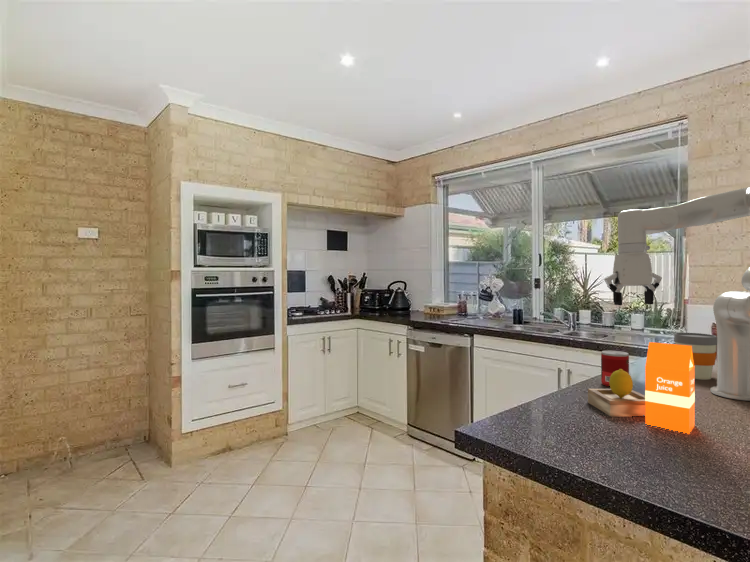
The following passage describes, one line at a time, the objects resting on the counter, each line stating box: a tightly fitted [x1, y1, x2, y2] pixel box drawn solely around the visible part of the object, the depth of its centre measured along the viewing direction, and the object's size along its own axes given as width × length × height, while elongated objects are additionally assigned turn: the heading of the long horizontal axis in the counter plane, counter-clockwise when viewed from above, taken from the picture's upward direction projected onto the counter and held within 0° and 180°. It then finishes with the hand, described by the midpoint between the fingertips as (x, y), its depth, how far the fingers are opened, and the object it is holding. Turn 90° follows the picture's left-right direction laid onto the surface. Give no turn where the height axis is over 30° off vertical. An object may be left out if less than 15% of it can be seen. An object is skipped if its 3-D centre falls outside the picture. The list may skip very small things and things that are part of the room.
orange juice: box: [644, 341, 696, 435], centre depth 101 cm, size 8×9×20 cm
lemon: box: [609, 369, 634, 398], centre depth 114 cm, size 6×6×8 cm
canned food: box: [600, 350, 630, 387], centre depth 138 cm, size 8×8×11 cm
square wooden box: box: [587, 388, 645, 417], centre depth 114 cm, size 12×12×4 cm
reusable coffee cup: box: [673, 332, 717, 380], centre depth 149 cm, size 12×13×15 cm
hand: (633, 304), depth 130 cm, fingers open, 9 cm apart
